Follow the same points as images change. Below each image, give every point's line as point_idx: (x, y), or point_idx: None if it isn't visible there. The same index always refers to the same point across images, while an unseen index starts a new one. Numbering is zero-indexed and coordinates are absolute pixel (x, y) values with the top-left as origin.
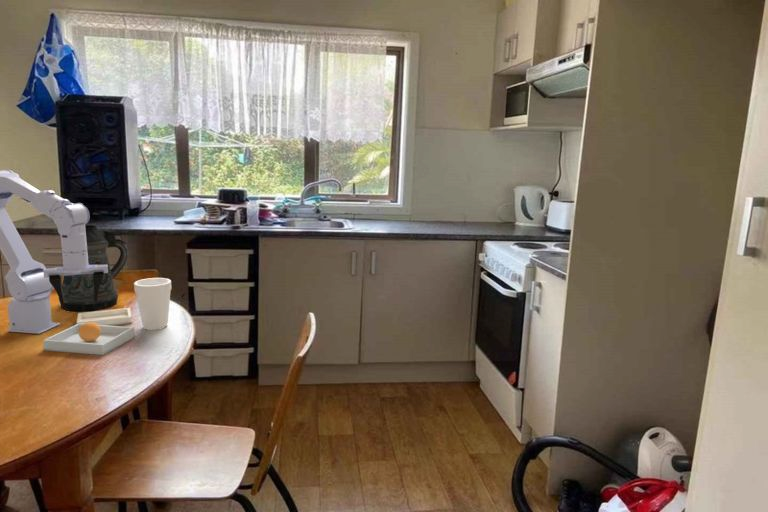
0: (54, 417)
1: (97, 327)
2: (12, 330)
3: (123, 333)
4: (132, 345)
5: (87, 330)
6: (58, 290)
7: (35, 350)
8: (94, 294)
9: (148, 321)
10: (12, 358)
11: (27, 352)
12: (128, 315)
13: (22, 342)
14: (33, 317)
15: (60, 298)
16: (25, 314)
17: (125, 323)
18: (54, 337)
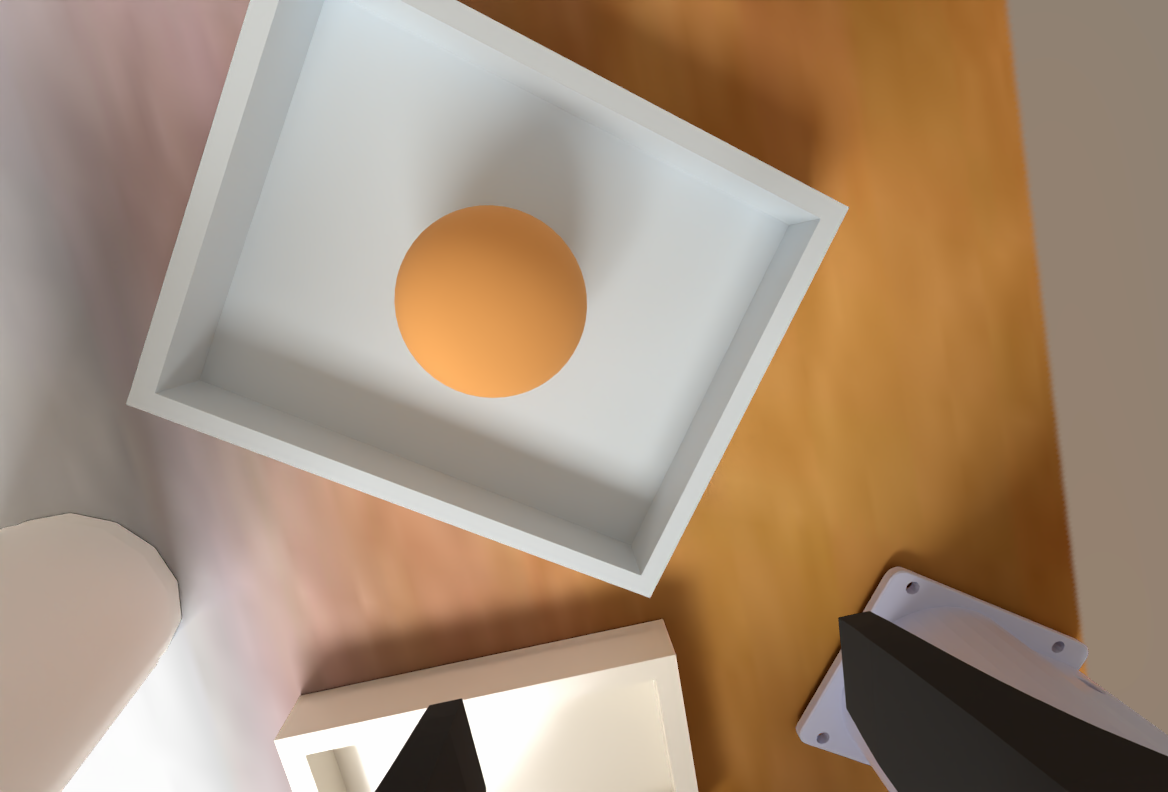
0: None
1: (403, 275)
2: (1061, 636)
3: (177, 240)
4: (142, 167)
5: (486, 214)
6: (1085, 750)
7: (860, 233)
8: (428, 769)
9: (36, 550)
10: (981, 94)
11: (905, 202)
12: (307, 769)
13: (966, 424)
14: (1012, 677)
15: (928, 650)
16: (1094, 702)
17: (344, 689)
18: (773, 302)
